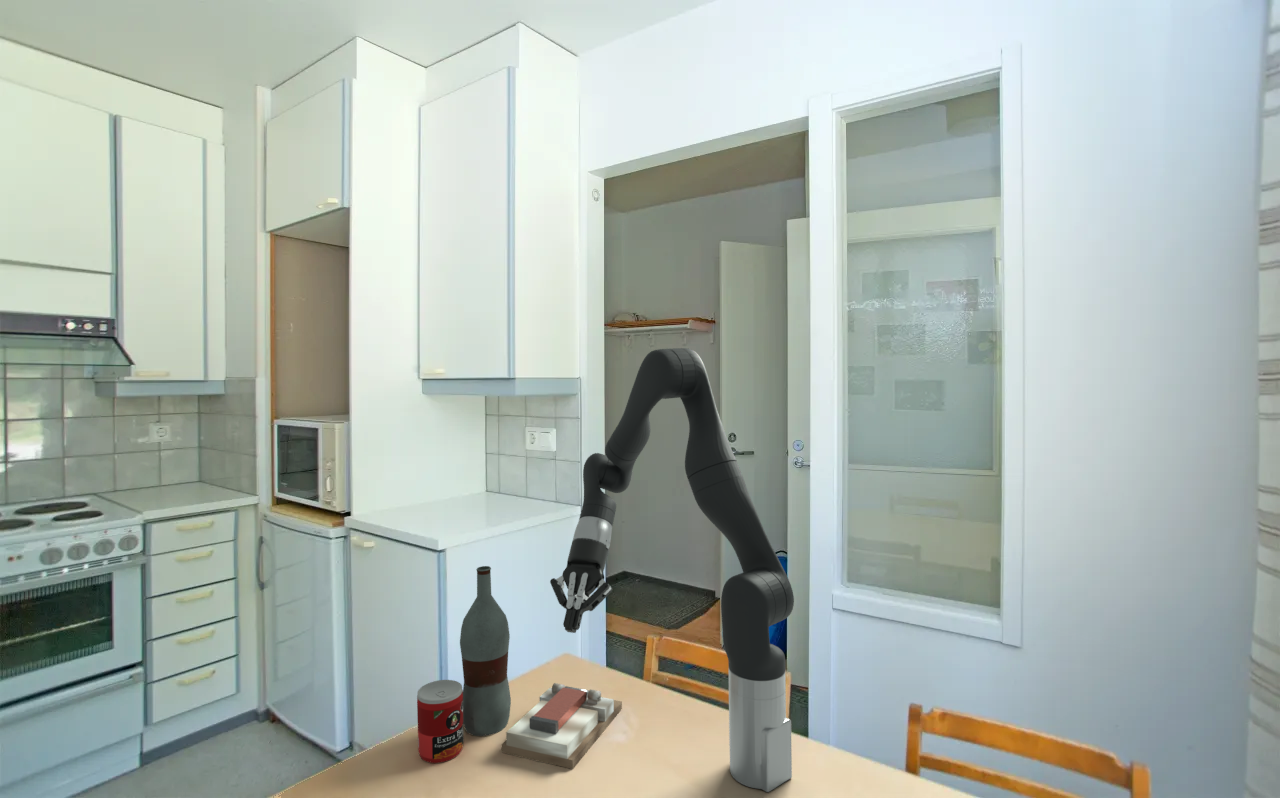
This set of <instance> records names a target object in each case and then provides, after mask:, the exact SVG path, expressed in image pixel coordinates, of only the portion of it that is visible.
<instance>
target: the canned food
mask: <svg viewBox="0 0 1280 798" xmlns="http://www.w3.org/2000/svg"><path fill="white" fill-rule="evenodd" d="M416 699H417V700H416V701H417V702H416V705H417V706H416V707H417V710H416V711H417V739H418V740H417V747H418V748H417V749H418V754H419V757H420V759H421V760H423V761H424V762H427V763H430V764H431V763H432V764H440V763H445V762H448V761H451V760H453V759H455V758H456V757H457V756H459V755H460V753H462V751H463V746H464V739H465V738H464V724H463V685H462V683H461V682H459V681H457V680H454V679H453V680H452V679H439V680H435V681H434V680H433V681H431V682H430V681H429V682H428V683H426V684H424V685H422V686H421V687H420V688H419V689H418V690H417V696H416Z"/></svg>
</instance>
